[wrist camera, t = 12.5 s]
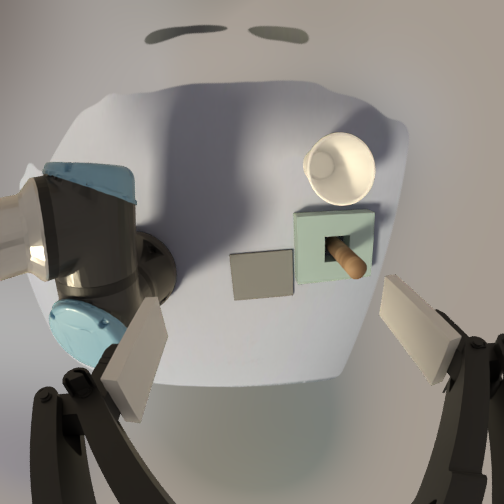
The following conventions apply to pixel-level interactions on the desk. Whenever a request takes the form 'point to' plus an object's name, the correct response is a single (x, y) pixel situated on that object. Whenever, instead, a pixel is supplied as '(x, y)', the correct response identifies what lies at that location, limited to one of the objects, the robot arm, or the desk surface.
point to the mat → (262, 274)
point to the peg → (346, 257)
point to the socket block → (313, 242)
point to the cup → (340, 168)
